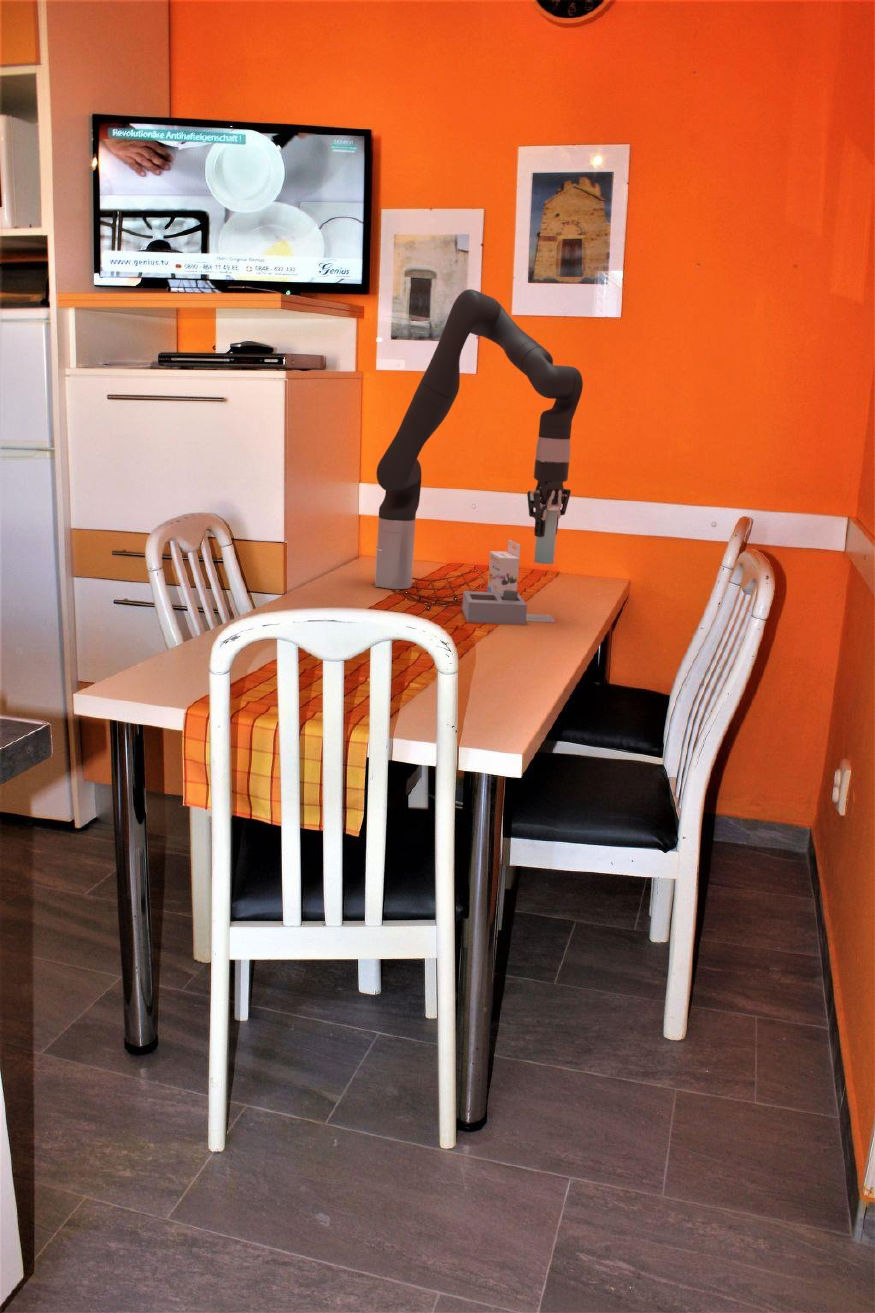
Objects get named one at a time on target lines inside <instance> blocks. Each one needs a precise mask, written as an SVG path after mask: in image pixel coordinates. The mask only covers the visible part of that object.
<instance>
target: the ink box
mask: <svg viewBox="0 0 875 1313" xmlns="http://www.w3.org/2000/svg"><path fill="white" fill-rule="evenodd" d="M513 547H514V548H515V549H514V548H513ZM520 554H521V544H519V543H517V542H515V541H513V540H511V539H508V540H507V551H496V550H495V551H492V550H491V551H489V562H488V564H489V566H488V575H487V576H488V577H487V578H488V579H487V588H486V589H487V590H486V592H495V593H503V592H504V591H505V590H512V591H517V592H518V580H519V568H520Z"/></svg>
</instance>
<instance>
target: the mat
mask: <svg viewBox="0 0 875 1313" xmlns="http://www.w3.org/2000/svg"><path fill="white" fill-rule="evenodd" d="M529 622H531V623H549V624H550V623H553V624H555V623H556V620H555V619H554V618H553V616H552V615H550V614H536V613H535V614H534V613H533V614H532V613H526V623H529Z"/></svg>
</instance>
